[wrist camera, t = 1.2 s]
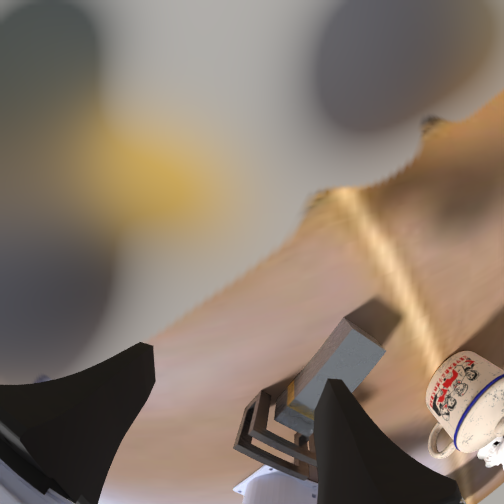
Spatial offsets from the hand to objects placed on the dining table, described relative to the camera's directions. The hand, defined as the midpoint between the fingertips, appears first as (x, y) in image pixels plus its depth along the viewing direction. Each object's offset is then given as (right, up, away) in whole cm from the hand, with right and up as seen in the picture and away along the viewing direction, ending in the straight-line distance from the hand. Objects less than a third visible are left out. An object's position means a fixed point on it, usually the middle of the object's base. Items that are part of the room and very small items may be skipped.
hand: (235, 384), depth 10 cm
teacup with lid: (+24, -11, +13) cm, 29 cm away
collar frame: (+4, -12, +15) cm, 20 cm away
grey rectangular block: (+8, -6, +15) cm, 18 cm away
